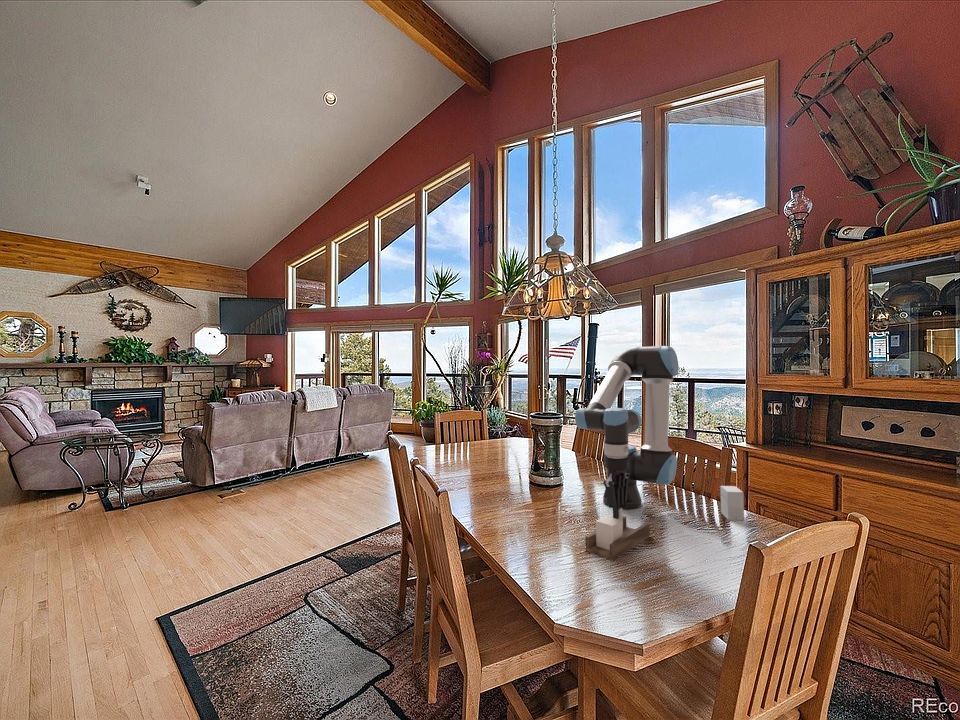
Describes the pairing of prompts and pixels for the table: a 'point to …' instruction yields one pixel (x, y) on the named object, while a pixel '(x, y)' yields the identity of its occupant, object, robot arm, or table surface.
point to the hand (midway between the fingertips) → (618, 527)
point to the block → (608, 531)
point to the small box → (732, 502)
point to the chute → (619, 541)
